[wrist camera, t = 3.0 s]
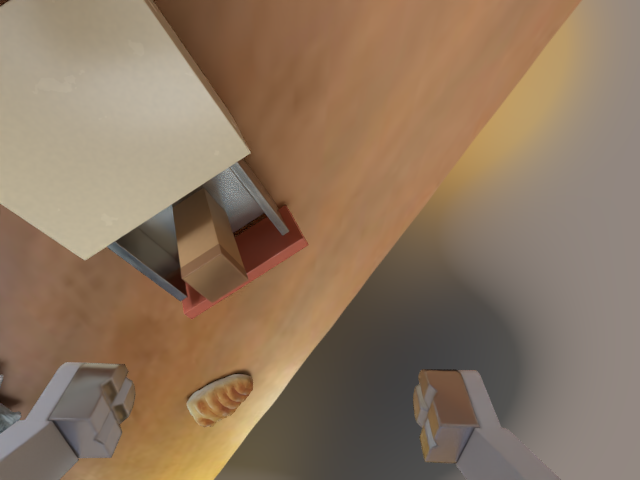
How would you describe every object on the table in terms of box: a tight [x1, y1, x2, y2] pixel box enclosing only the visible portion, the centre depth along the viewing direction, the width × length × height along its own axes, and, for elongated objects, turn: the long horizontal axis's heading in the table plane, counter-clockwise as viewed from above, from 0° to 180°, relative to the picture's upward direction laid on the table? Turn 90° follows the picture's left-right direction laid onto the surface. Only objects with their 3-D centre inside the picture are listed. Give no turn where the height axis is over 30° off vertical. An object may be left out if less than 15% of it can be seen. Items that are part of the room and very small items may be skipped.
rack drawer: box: [107, 158, 308, 319], centre depth 35 cm, size 14×13×6 cm
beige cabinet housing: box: [0, 0, 251, 260], centre depth 26 cm, size 14×15×8 cm
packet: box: [172, 188, 248, 303], centre depth 32 cm, size 4×3×10 cm
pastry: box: [187, 374, 253, 427], centre depth 56 cm, size 9×7×4 cm
